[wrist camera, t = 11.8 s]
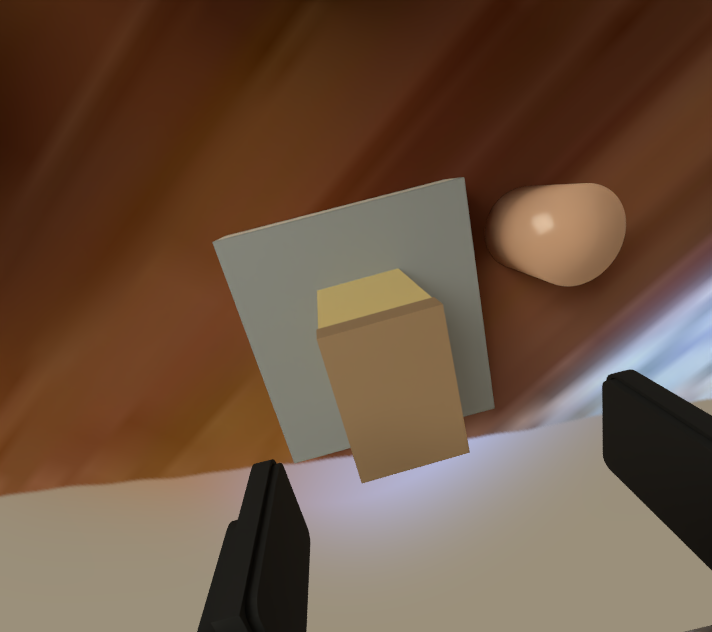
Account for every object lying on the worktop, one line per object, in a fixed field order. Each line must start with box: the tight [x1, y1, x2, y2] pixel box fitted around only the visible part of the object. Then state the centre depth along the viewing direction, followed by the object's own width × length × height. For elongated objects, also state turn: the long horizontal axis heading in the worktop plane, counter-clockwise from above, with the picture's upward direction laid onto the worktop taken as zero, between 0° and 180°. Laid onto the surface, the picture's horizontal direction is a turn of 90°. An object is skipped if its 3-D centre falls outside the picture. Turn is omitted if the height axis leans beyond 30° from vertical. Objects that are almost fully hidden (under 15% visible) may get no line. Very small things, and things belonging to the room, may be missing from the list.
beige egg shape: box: [485, 183, 626, 286], centre depth 20 cm, size 5×5×5 cm
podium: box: [213, 177, 495, 463], centre depth 22 cm, size 13×14×3 cm
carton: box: [316, 268, 469, 483], centre depth 17 cm, size 5×7×7 cm
